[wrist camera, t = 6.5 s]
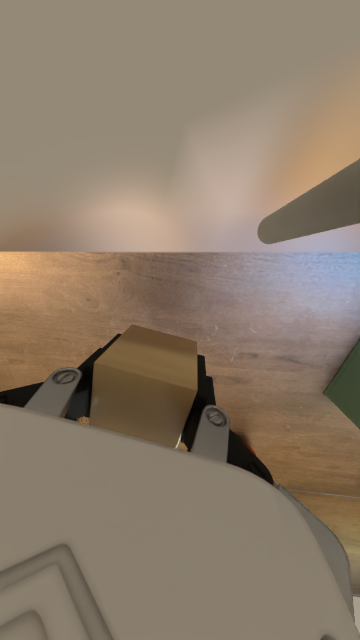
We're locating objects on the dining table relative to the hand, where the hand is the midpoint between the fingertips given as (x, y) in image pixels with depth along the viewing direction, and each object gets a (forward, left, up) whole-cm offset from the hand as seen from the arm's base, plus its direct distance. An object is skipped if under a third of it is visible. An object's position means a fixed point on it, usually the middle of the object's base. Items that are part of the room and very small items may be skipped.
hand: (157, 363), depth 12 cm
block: (0, 0, 0) cm, 0 cm away
